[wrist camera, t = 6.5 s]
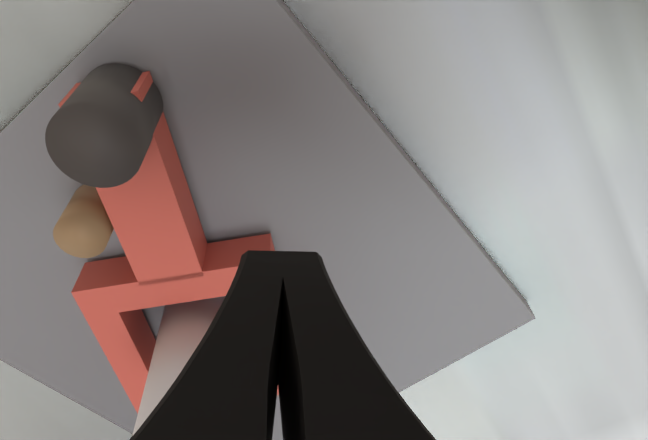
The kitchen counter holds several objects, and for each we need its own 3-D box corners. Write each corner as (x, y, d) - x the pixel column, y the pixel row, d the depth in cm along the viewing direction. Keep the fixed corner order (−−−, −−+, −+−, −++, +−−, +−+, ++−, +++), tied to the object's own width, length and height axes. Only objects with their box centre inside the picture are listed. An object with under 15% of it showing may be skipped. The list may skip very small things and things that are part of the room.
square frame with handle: (302, 360, 24) (304, 421, 21) (146, 384, 24) (131, 446, 21) (223, 44, 16) (212, 81, 13) (-6, 82, 16) (-59, 126, 14)
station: (227, 468, 30) (214, 618, 24) (-130, 260, 21) (-289, 421, 15) (526, 301, 24) (604, 445, 18) (215, -82, 15) (175, -36, 9)
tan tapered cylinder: (101, 230, 19) (84, 266, 18) (63, 201, 19) (41, 235, 17) (132, 205, 19) (118, 239, 17) (93, 174, 18) (75, 207, 16)
